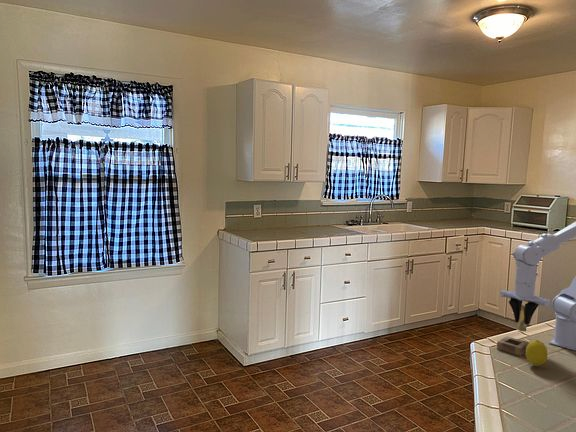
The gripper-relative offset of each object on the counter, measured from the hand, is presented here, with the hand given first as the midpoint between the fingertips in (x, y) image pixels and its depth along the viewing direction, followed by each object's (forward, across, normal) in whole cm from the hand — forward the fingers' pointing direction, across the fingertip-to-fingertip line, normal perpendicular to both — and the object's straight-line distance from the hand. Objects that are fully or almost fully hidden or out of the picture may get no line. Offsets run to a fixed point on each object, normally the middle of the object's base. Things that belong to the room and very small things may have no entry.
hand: (522, 322), depth 144 cm
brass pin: (+2, 0, 0) cm, 2 cm away
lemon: (+8, +9, -14) cm, 18 cm away
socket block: (+8, 0, -6) cm, 10 cm away
